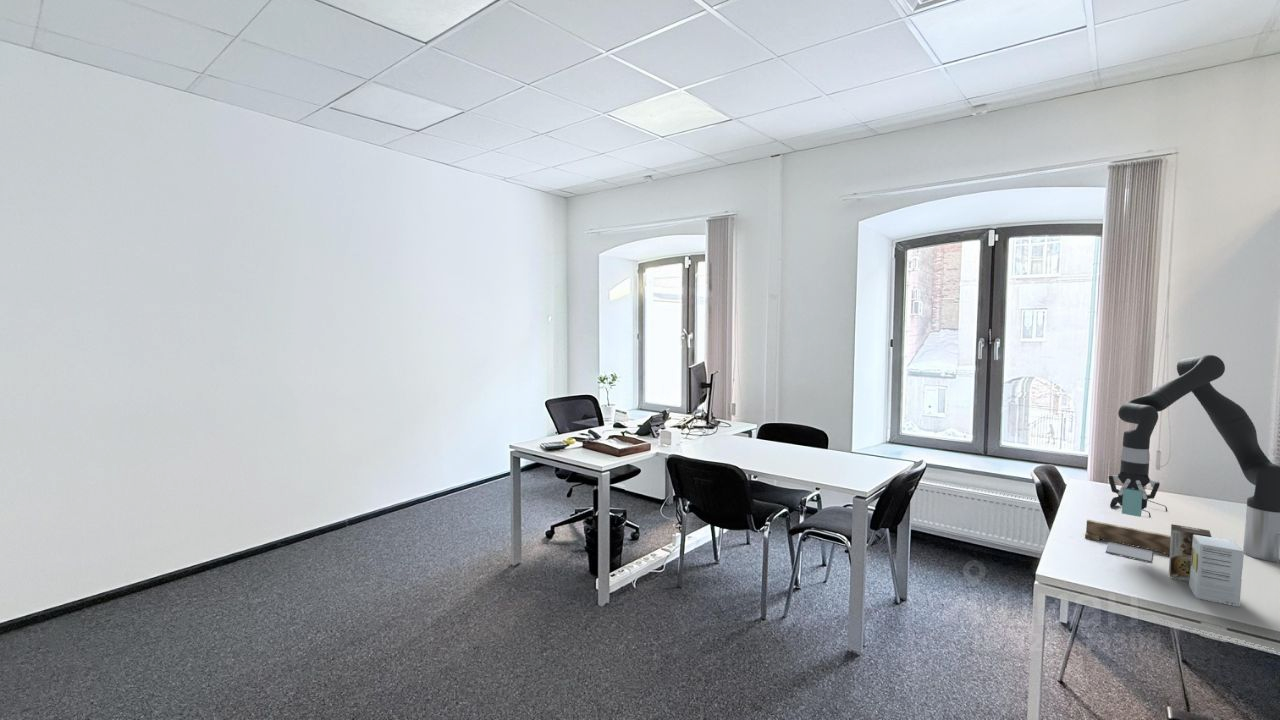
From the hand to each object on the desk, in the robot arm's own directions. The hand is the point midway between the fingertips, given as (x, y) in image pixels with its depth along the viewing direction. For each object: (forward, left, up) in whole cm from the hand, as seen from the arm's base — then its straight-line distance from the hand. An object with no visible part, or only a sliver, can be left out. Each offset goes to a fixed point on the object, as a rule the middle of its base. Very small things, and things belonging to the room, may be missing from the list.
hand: (1131, 506), depth 196 cm
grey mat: (0, 0, -17) cm, 17 cm away
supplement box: (-28, +17, -17) cm, 36 cm away
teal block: (0, 0, -2) cm, 2 cm away
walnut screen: (+3, -9, -17) cm, 19 cm away
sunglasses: (+23, -61, -17) cm, 68 cm away
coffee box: (-19, +8, -17) cm, 26 cm away
